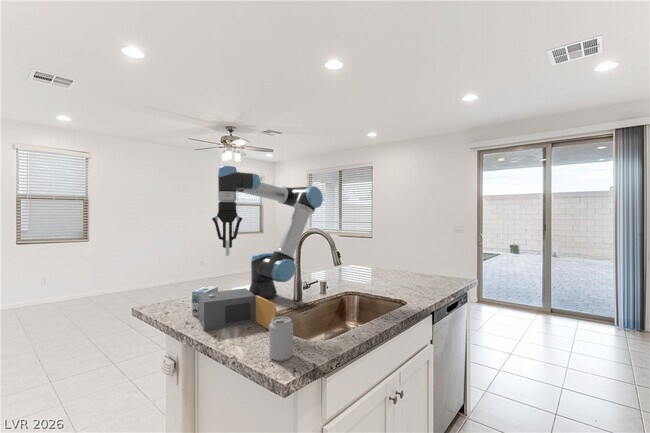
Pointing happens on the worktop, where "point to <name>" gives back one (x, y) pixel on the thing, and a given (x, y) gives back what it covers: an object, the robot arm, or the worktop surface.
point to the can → (281, 338)
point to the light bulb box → (196, 297)
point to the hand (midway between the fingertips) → (227, 255)
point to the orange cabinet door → (264, 311)
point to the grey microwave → (226, 308)
